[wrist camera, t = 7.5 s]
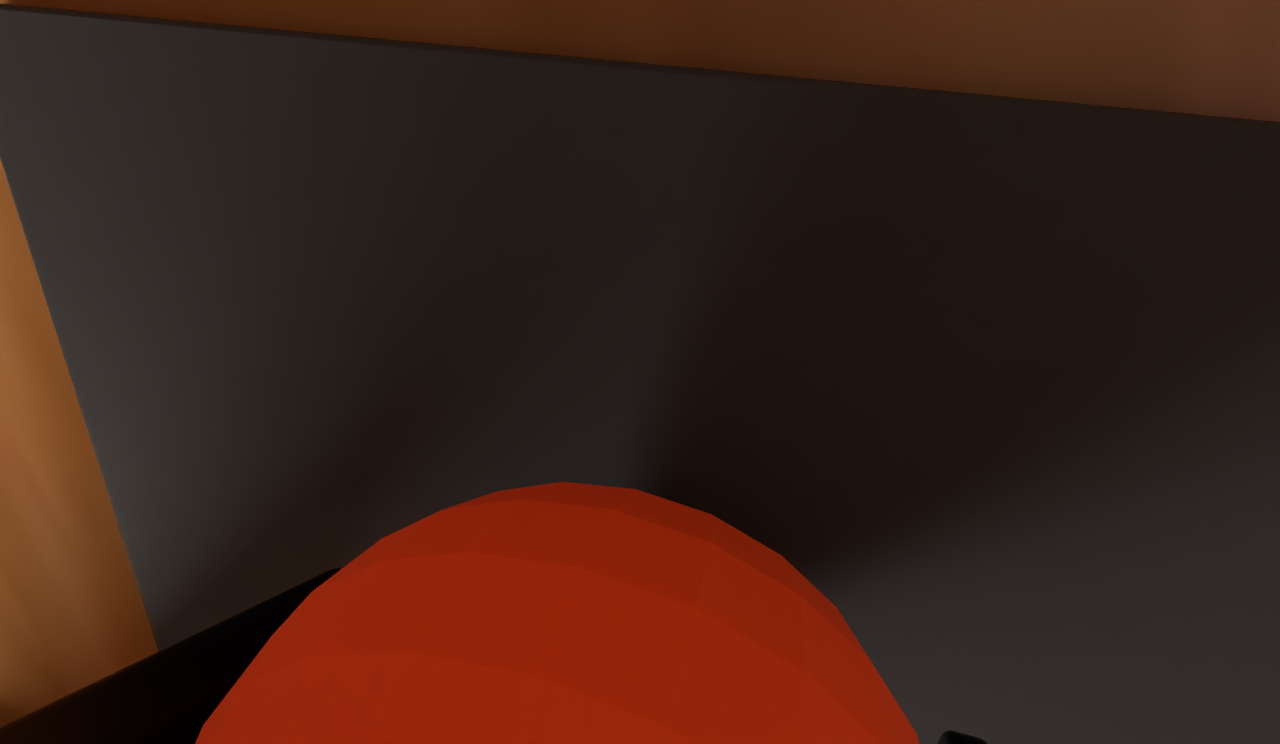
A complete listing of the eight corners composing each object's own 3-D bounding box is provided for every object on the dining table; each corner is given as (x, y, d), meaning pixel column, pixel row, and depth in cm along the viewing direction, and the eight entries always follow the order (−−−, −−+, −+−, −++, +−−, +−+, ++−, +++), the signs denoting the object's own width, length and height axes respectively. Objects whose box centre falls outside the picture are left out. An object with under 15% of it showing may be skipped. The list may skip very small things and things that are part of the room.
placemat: (194, 684, 15) (174, 703, 14) (-10, 2, 9) (-54, -1, 9) (1248, 1024, 11) (1265, 1065, 10) (2063, 194, 5) (2177, 207, 5)
